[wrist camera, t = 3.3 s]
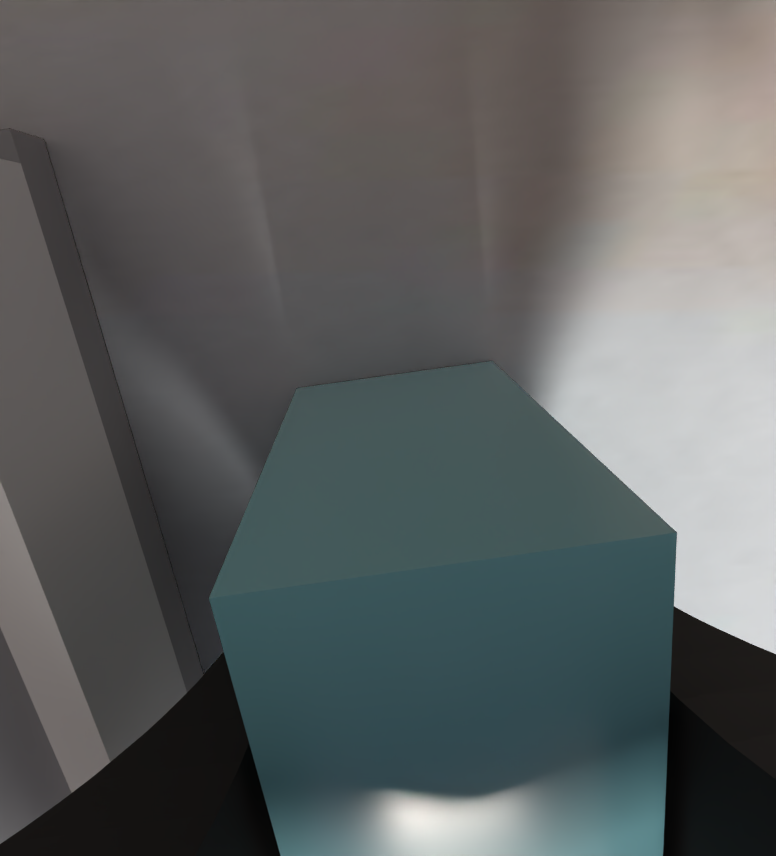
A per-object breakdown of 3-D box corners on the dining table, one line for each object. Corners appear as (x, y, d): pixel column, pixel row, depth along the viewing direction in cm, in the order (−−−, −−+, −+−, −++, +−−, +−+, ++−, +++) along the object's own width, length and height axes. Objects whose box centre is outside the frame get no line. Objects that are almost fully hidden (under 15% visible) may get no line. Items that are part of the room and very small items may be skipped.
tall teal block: (514, 674, 14) (654, 1067, 7) (355, 696, 14) (351, 1110, 7) (492, 360, 11) (676, 531, 5) (296, 388, 11) (209, 598, 5)
